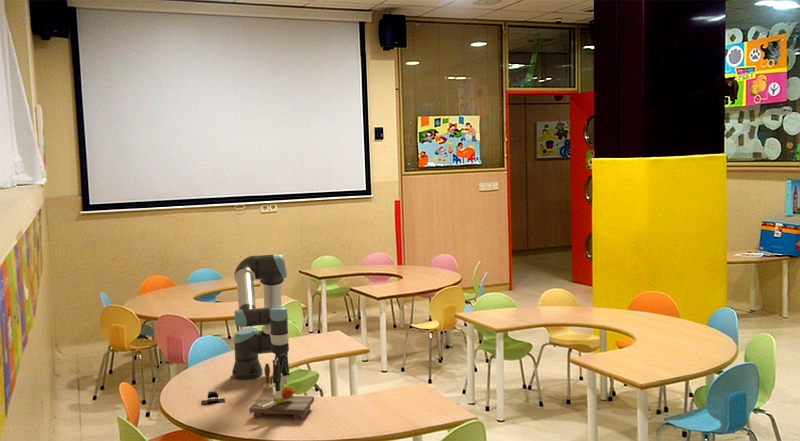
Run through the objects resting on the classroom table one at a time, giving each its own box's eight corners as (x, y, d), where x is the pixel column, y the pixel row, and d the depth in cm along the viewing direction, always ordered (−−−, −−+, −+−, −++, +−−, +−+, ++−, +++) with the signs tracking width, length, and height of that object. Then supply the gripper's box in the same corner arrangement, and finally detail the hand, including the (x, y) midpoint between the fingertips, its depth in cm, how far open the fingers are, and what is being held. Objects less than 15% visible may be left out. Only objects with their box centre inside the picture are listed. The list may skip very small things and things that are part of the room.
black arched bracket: (198, 407, 322) (197, 396, 321) (198, 401, 329) (197, 391, 328) (228, 403, 325) (227, 393, 324) (227, 398, 332) (227, 387, 332)
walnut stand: (262, 405, 320) (261, 394, 319) (314, 407, 317) (313, 396, 316) (249, 419, 304) (249, 408, 304) (304, 421, 301) (304, 409, 300)
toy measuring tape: (299, 397, 312) (299, 382, 311) (263, 410, 298) (262, 394, 297) (290, 394, 316) (289, 379, 315) (254, 406, 302) (253, 391, 301)
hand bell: (280, 394, 334) (279, 361, 332) (271, 401, 326) (270, 367, 324) (264, 393, 336) (263, 360, 334) (255, 399, 328) (254, 365, 327)
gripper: (278, 336, 318) (280, 385, 320) (263, 349, 297) (265, 402, 300) (295, 336, 317) (297, 385, 319) (280, 350, 296) (282, 403, 299)
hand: (281, 393), depth 310 cm, fingers closed on toy measuring tape, 8 cm apart
